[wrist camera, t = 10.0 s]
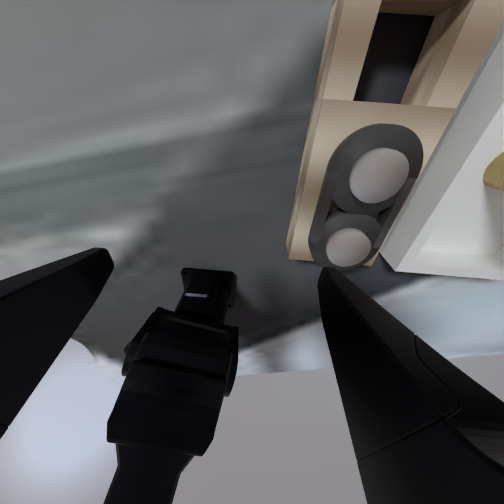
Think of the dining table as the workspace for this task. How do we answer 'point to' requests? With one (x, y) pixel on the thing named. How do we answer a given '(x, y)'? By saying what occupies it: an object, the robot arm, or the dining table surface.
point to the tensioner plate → (418, 99)
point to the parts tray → (459, 189)
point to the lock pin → (495, 173)
